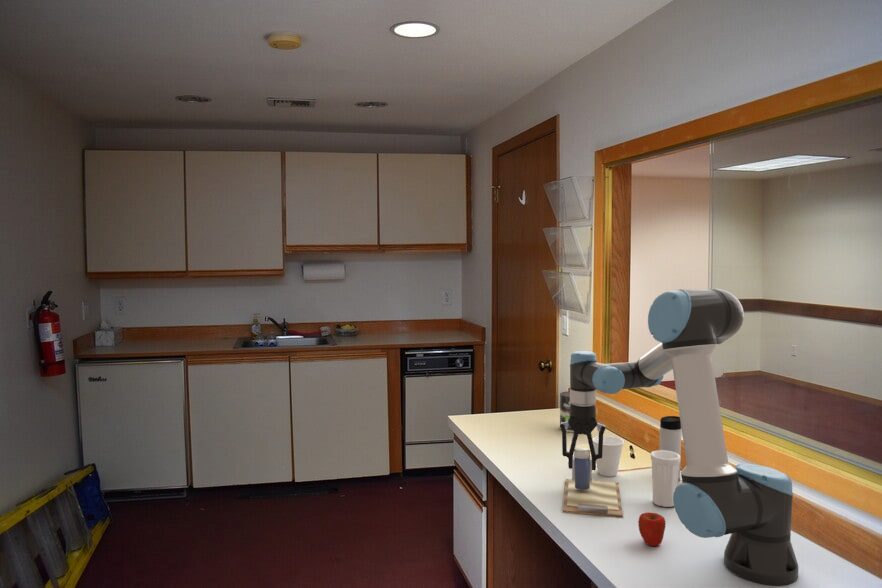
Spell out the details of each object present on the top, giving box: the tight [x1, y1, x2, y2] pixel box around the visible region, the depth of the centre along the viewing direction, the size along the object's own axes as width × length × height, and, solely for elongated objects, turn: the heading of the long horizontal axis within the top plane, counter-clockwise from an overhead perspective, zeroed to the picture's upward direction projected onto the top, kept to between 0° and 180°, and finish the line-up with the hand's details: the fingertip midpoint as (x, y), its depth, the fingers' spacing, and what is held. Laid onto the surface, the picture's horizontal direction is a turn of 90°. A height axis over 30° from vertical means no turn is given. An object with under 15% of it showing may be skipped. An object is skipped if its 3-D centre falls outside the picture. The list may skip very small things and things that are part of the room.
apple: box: [637, 511, 667, 547], centre depth 156 cm, size 6×6×8 cm
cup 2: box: [650, 449, 680, 508], centre depth 179 cm, size 8×8×14 cm
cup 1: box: [592, 435, 625, 477], centre depth 203 cm, size 10×10×11 cm
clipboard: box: [562, 478, 624, 519], centre depth 184 cm, size 24×16×2 cm, turn 167°
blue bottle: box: [573, 447, 591, 490], centre depth 187 cm, size 5×5×11 cm
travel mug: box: [659, 415, 682, 482], centre depth 198 cm, size 6×7×20 cm
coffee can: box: [559, 390, 574, 433], centre depth 252 cm, size 10×10×14 cm
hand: (581, 479), depth 189 cm, fingers closed on blue bottle, 4 cm apart
